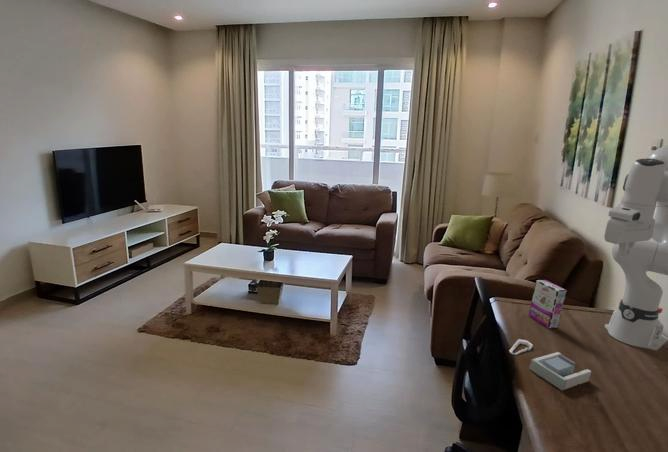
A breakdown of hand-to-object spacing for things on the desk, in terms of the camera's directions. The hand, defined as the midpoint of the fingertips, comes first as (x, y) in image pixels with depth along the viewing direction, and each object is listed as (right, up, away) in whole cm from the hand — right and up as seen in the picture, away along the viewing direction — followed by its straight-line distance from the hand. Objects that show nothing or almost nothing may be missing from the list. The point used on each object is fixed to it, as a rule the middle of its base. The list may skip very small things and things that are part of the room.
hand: (623, 254), depth 127 cm
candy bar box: (-6, -30, +38) cm, 49 cm away
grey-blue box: (-21, -39, +1) cm, 44 cm away
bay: (-19, -39, +2) cm, 43 cm away
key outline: (-25, -35, +16) cm, 46 cm away
